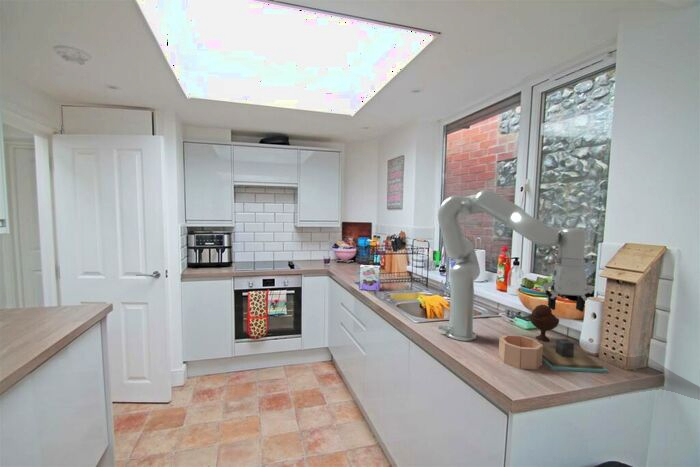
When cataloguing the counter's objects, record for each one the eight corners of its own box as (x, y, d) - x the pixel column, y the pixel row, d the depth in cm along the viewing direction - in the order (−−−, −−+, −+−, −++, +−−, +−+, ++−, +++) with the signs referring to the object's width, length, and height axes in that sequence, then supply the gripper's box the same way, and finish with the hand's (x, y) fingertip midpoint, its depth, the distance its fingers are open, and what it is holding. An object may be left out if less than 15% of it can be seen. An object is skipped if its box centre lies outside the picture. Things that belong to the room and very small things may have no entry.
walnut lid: (553, 366, 110) (554, 349, 110) (530, 347, 126) (531, 332, 126) (602, 368, 109) (603, 351, 109) (573, 349, 125) (574, 333, 125)
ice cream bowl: (562, 345, 130) (565, 309, 129) (532, 342, 133) (534, 306, 132) (552, 336, 141) (554, 302, 140) (524, 333, 143) (526, 300, 142)
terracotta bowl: (508, 368, 110) (509, 347, 110) (494, 352, 123) (495, 334, 123) (547, 370, 109) (548, 349, 109) (529, 353, 122) (530, 335, 122)
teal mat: (551, 369, 110) (552, 367, 110) (526, 347, 128) (527, 345, 127) (608, 372, 108) (608, 370, 108) (574, 350, 126) (574, 348, 126)
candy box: (358, 290, 218) (359, 265, 217) (359, 288, 224) (360, 264, 223) (379, 291, 216) (379, 266, 215) (379, 289, 222) (380, 265, 221)
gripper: (550, 263, 113) (546, 311, 114) (602, 265, 111) (597, 314, 113) (539, 259, 120) (535, 305, 121) (588, 262, 119) (583, 307, 120)
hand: (565, 309), depth 117 cm, fingers open, 9 cm apart
